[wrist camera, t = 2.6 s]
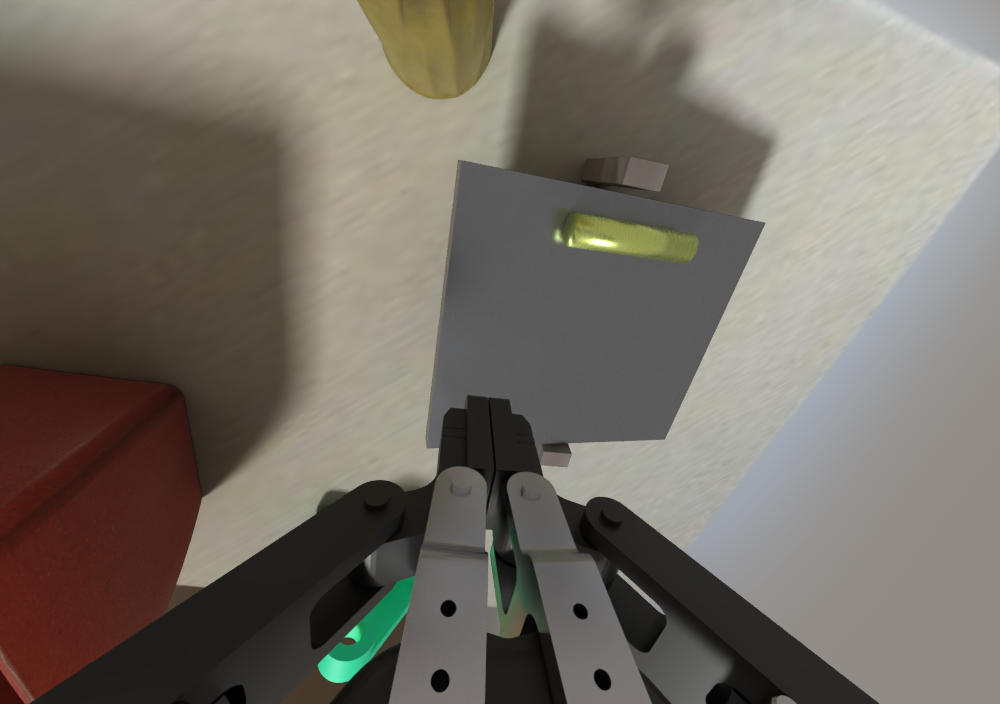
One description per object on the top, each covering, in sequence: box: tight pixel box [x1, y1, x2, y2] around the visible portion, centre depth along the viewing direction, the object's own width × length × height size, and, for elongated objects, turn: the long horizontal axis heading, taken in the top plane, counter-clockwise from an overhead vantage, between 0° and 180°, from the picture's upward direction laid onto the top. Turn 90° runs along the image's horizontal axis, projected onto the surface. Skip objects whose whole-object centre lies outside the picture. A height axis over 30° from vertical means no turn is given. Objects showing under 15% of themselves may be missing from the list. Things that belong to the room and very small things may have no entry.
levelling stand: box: [535, 157, 669, 467], centre depth 25 cm, size 14×19×7 cm
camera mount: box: [318, 576, 415, 683], centre depth 33 cm, size 12×8×10 cm, turn 71°
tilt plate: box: [426, 160, 765, 448], centre depth 22 cm, size 18×16×3 cm
